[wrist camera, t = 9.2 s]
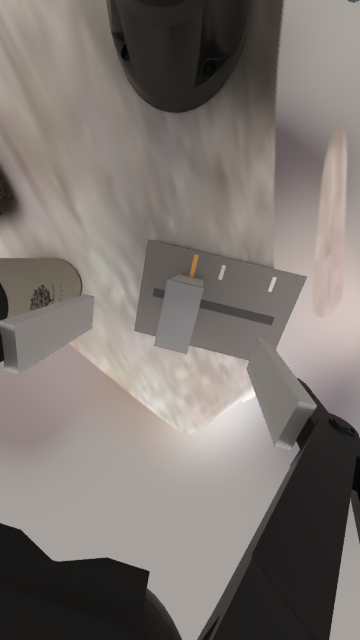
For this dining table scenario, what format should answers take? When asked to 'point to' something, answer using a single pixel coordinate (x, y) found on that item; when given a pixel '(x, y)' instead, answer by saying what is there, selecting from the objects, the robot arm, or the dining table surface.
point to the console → (220, 298)
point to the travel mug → (35, 284)
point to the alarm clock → (1, 193)
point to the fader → (179, 312)
